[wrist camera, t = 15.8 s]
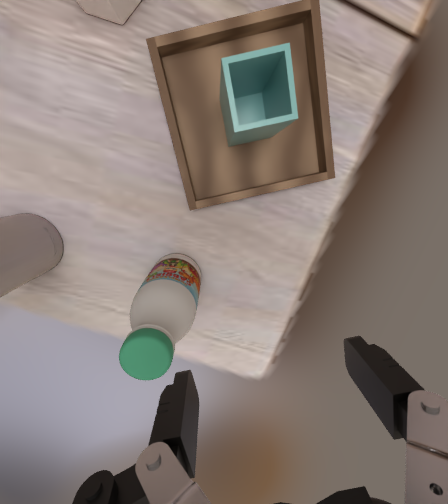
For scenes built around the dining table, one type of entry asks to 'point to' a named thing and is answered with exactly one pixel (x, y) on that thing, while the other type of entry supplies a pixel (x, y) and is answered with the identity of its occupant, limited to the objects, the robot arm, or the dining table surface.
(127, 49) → the dining table surface
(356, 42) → the dining table surface
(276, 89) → the teal square vase
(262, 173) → the wooden tray
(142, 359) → the yogurt drink bottle
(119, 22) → the jar
